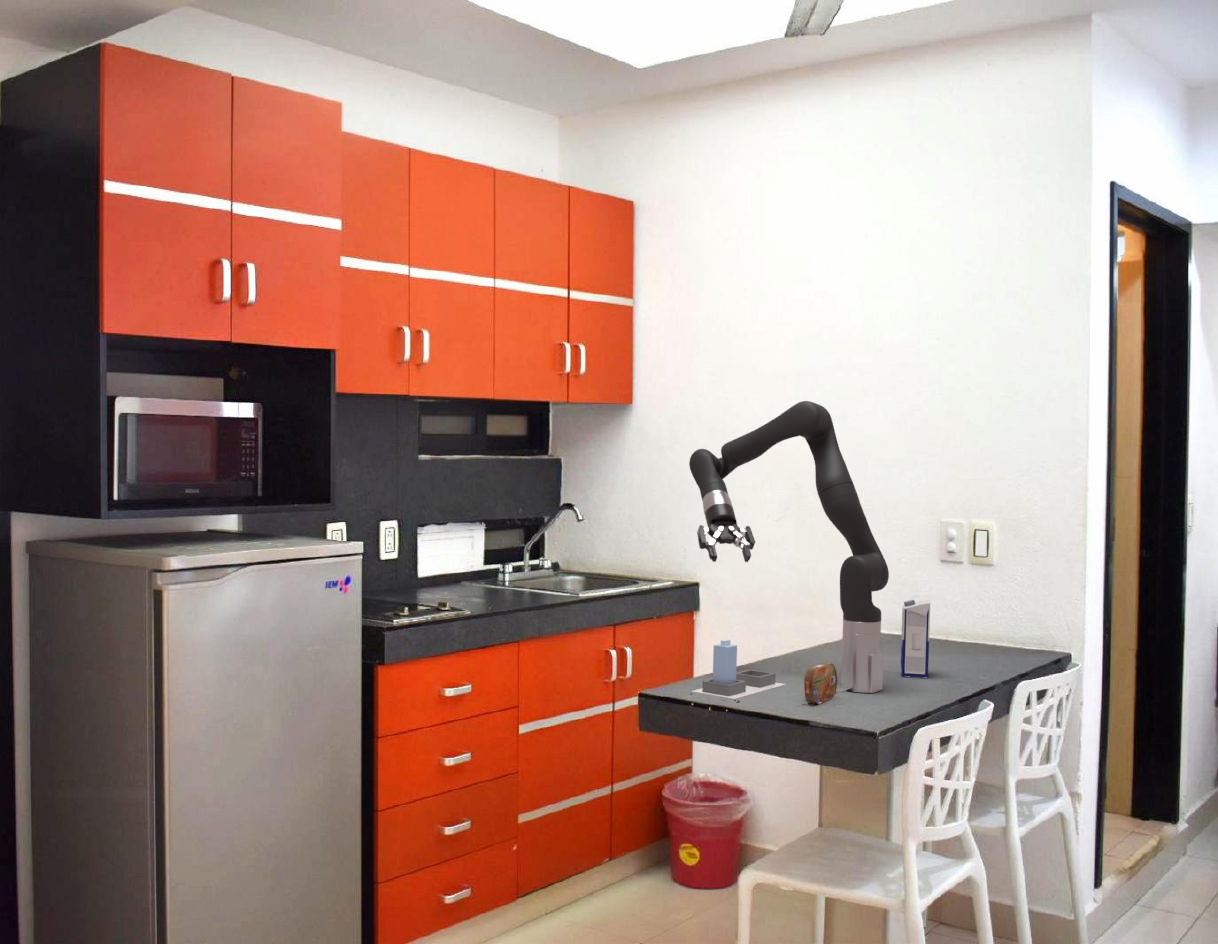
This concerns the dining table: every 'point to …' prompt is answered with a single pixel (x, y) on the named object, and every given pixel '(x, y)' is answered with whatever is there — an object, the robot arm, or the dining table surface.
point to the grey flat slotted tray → (741, 685)
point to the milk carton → (915, 638)
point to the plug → (724, 663)
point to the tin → (820, 683)
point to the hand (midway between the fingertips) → (731, 559)
